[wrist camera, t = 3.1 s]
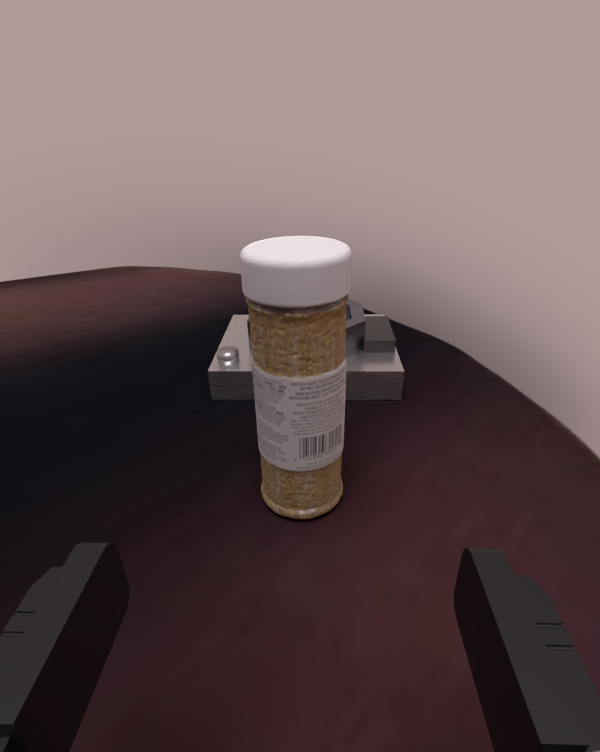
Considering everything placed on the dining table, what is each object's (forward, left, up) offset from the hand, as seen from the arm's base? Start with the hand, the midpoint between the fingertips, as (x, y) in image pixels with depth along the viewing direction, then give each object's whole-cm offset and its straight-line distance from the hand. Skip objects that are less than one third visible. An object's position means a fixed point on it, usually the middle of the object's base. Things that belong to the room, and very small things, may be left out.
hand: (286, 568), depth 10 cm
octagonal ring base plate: (0, +26, -9) cm, 28 cm away
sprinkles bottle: (0, +11, -9) cm, 14 cm away
